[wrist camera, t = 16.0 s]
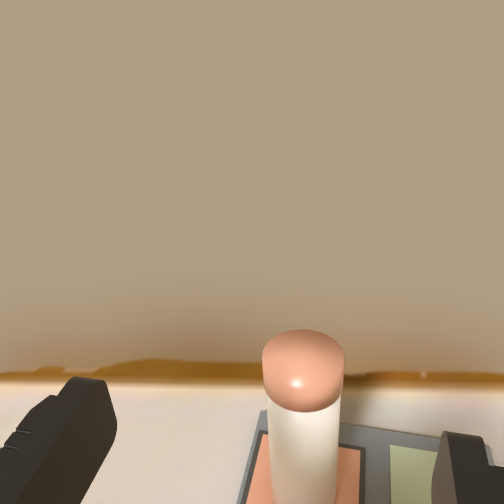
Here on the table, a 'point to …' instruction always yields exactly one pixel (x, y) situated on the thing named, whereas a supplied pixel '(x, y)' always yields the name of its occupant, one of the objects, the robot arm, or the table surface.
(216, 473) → the table surface
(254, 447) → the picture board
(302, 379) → the marker
